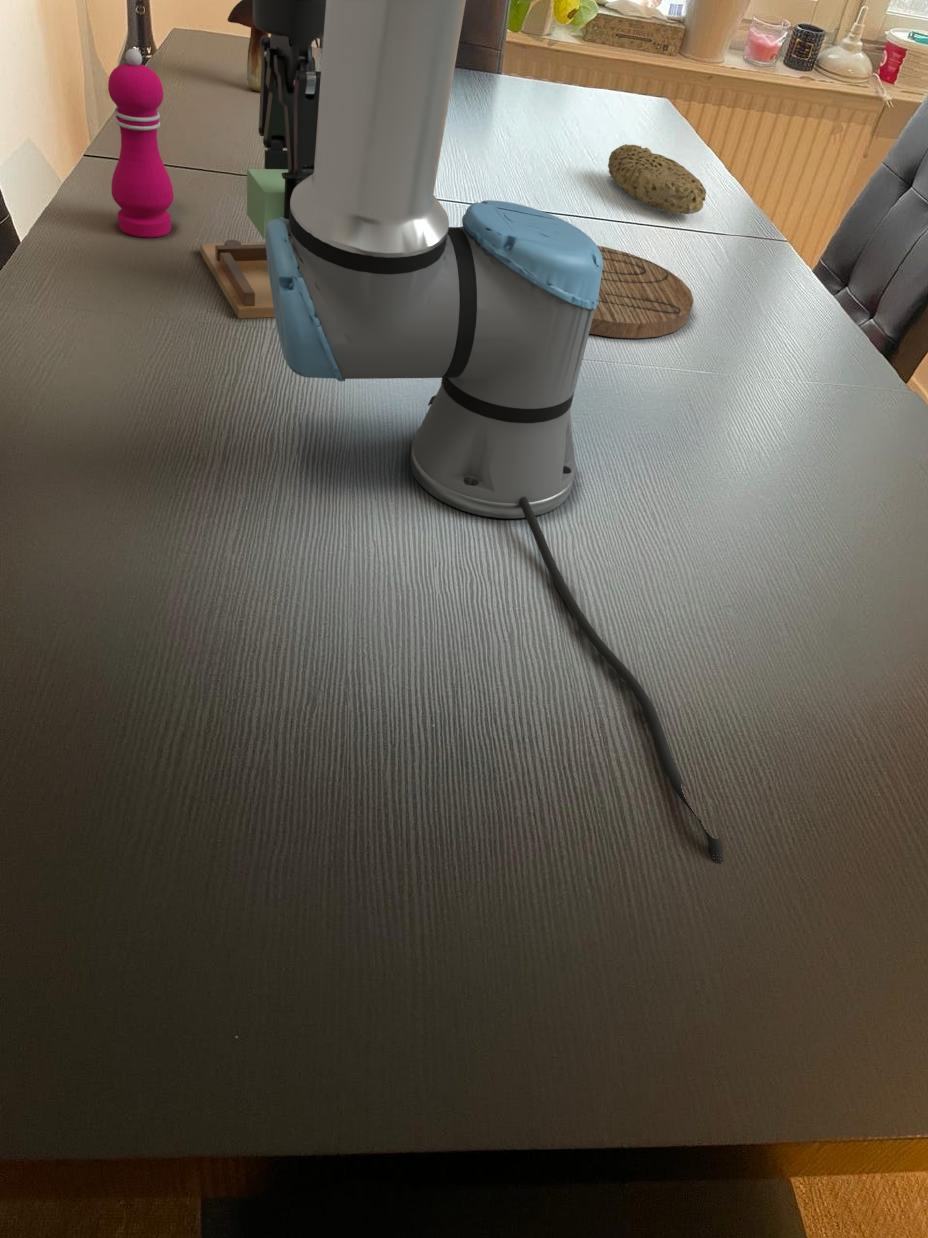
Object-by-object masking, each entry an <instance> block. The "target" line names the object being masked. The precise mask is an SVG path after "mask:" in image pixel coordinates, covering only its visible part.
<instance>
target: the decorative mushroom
mask: <svg viewBox="0 0 928 1238" xmlns="http://www.w3.org/2000/svg"><path fill="white" fill-rule="evenodd" d="M226 21H227V22H228V23H231V24H239V25H241V26H243V27H247V28H250V36H249V43H248V48H247V61H246V63H247V65H246V67H247V68H246V76H247V78H246V79H247V83H248V86H249V87H250V88H251V89H252V90H253V91H255V92H260V86H261V62H262V61H261V45H260V40H261V37H262V36H265V37H270V36H269V35H270V34H269V33H266V32H264V31H262V30H260V29H258V28H257V27H256V26H255V24H254V22H253V0H240V1H239V2H238V3H237V4H235V6H234V7H233V8H232V9H231V11H230V12H229V14H228V17H227V19H226Z"/></svg>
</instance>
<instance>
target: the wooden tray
mask: <svg viewBox="0 0 928 1238" xmlns="http://www.w3.org/2000/svg"><path fill="white" fill-rule="evenodd" d="M199 250H200V251H199V252H200V255H201V256H202V258H203V261H204V262H205V264H206V265H207V267H208V268H209V269H208V270H209V271H210V272H211V274H212V276H213V277H214V279H215V281H216V282H217V284H218V286H219V288H220V289H221V291H222V293H223V295H224V296H225V298H226V299H227V301H228V304H229V305H230V306H231V308H232V310H233V312H234V313H235V315H236V317H237V319H239V320H240V319H259V318H261V319H262V318H275V312H274V306H273V300H272V293H271V286H270V279H269V271H268V262H267V252H266V241H265V242H241V241H239V240H236V239H226V240H224V242H221V243H220V242H218V243H217V242H215V243H214V242H213V243H212V242H211V243H200V244H199Z"/></svg>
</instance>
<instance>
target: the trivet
mask: <svg viewBox="0 0 928 1238" xmlns="http://www.w3.org/2000/svg"><path fill="white" fill-rule="evenodd" d="M597 246H598V248H599V250H600V252H601V255H602V259H603V270H602V276H601V283H600V289H599V296H598V300H599V303H598V306H597V308H596V309H595V311H594V315H593V319H592V323H591V327H590V331H589V335H590V334H591V335H597V336H603V337H607V338H608V337H609V338H620V339H647V338H657V337H661V336H665V335H668V334H671V333H675V332H677V331H678V330H680V329H681V328H682V327H684V326H685V325H686V324H687V321H688V320H689V318H690V316H691V315H690V314H691V311H692V308H693V304H694V301H695V299H694V297H693V294H692V290H691V289H690V288H689V286H688V285H686V283H685V282H684V281H683V280H682V279H681V278H680V277H678V276H677V275H675V274H674V273H672V272H671V271H670V270H668V269H666V268H664V267H663V266H660V265H659V264H657V263H655V262H653V261H650V260H648V259H645V258H643V257H640V256H637V255H635V254H632V253H629V252H625V251H622V250H618V249H614V248H612V247H611V248H610V247H606V246H601V245H597Z"/></svg>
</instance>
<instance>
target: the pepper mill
mask: <svg viewBox="0 0 928 1238" xmlns="http://www.w3.org/2000/svg"><path fill="white" fill-rule="evenodd" d="M125 61H126V63H122V64H119V65H117V66H116V67H114V69H113V70H112V71H111V72H110V74H109V77H108V84H107V89H108V95H109V98H110V99H111V100H112V102H113V103H114V104H115V106H116V107H117V108H116V109H115V110H114V114H115V121H114V122H115V123H116V124H117V125H118V126H119V131H120V152H119V157H118V161H117V163H116V165H115V169H114V172H113V174H112V179H111V196H112V199H113V201H114V202H115V203H116V204H117V206H119V208H120V209H119V210H118V211H117V224H118V228H119V230H120V231H121V232H123V233H125V234H126V235H130V236H132V237H137V238H145V239H146V238H147V239H148V238H151V239H152V238H161V237H163V236H166V235H168V234H170V232H171V230H172V222H171V221H172V220H171V214H170V213H169V212H168V209H169V208H170V207H171V205H172V204H173V202H174V188H173V184H172V181H171V177H170V175H169V173H168V171H167V169H166V167H165V166H166V165H165V164H164V162H163V159H162V157H161V154H160V150H159V144H158V143H159V142H158V129H159V128H160V127H161V121H160V118H161V114H160V112H158V111H157V110H158V108H159V107H160V106H161V104H162V103H163V100H164V88H163V84H162V81H161V79H160V77H159V76H158V75H157V73H156V72H155V71H154V70H153V69H151V68H150V67H149V66H146V65H144V64H142V62H143V56H142V54H141V52H140V51H139V50H138V49H137V48H129V49H128V50H127V51H126V52H125Z"/></svg>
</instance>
